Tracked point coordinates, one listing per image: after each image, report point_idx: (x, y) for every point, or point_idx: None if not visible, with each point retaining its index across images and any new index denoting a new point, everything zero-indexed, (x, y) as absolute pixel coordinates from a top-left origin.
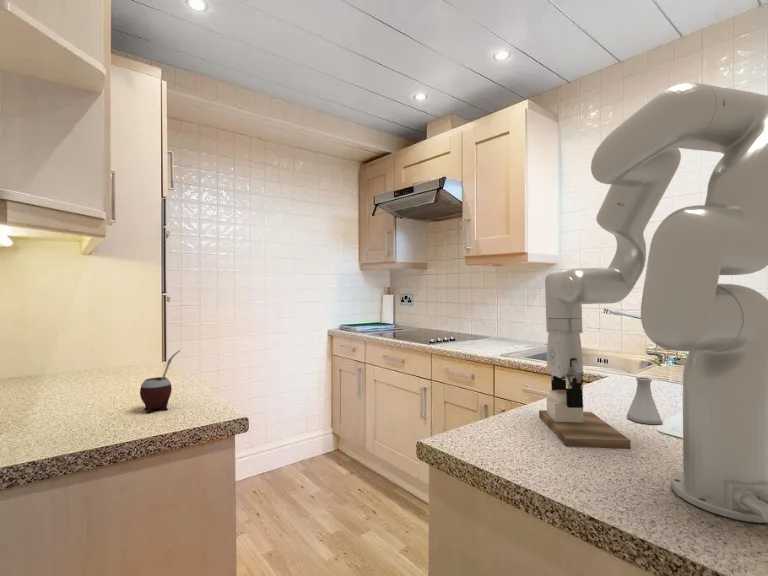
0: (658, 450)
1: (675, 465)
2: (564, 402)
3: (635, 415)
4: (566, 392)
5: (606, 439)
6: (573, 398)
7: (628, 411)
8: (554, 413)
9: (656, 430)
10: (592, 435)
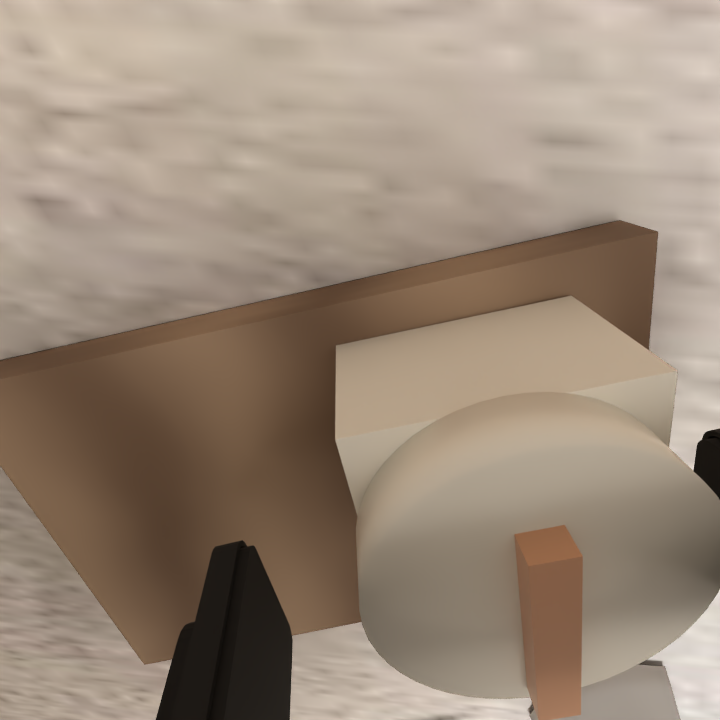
0: None
1: (49, 707)
2: (357, 534)
3: (581, 712)
4: (190, 714)
5: (90, 586)
6: (173, 691)
7: (660, 695)
8: (354, 373)
9: (460, 714)
10: (122, 535)
